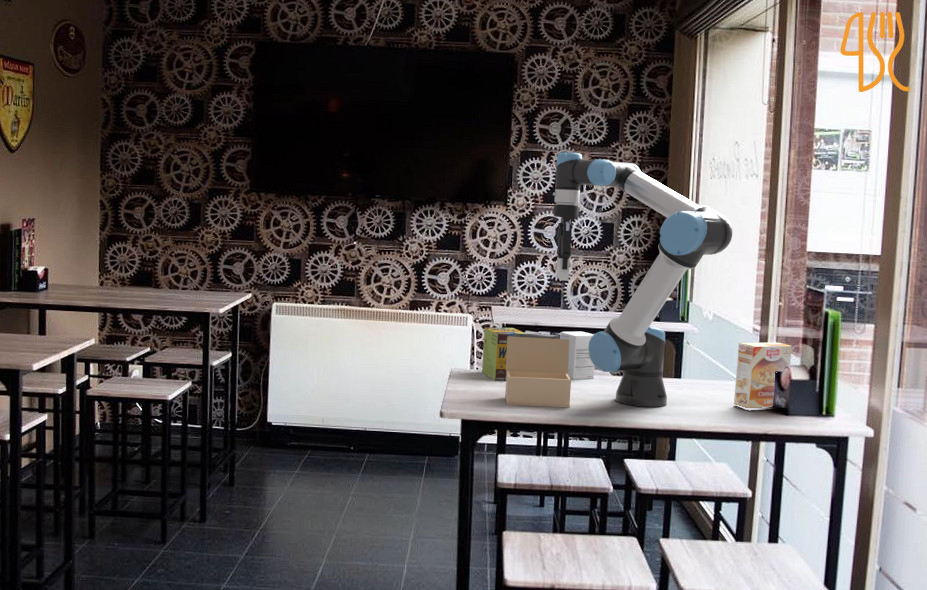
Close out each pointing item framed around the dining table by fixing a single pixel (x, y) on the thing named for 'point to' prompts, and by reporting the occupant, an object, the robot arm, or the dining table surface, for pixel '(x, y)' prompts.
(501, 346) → the protein box
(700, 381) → the dining table surface
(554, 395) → the carton
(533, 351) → the flap
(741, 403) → the coffeecake box
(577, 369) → the supplement box
